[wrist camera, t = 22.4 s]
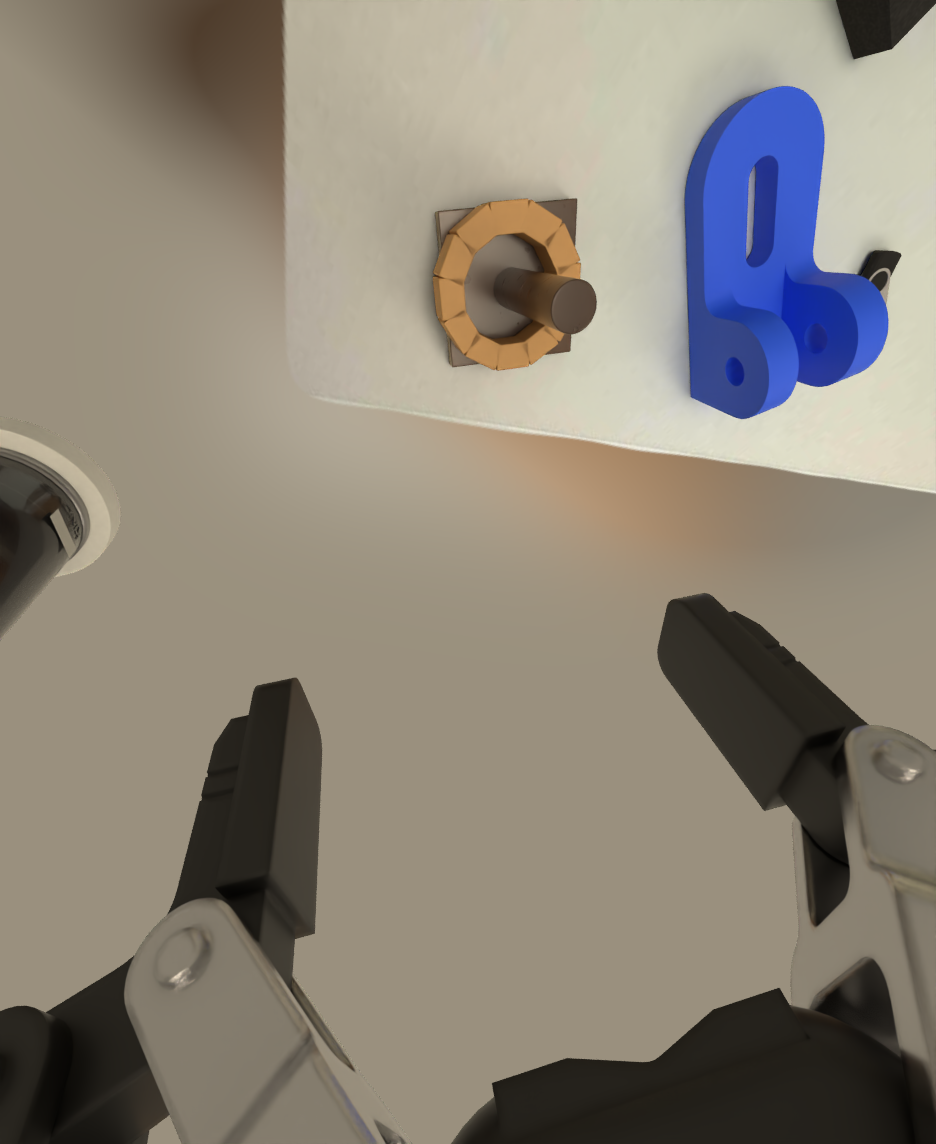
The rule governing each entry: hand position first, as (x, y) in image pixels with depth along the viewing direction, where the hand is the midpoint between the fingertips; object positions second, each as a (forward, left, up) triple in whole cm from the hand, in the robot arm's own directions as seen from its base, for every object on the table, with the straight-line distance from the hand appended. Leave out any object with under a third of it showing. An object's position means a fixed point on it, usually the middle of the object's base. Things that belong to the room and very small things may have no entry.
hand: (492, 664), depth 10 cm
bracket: (+27, +4, -30) cm, 41 cm away
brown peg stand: (+9, +4, -30) cm, 32 cm away
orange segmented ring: (+8, +4, -29) cm, 30 cm away
